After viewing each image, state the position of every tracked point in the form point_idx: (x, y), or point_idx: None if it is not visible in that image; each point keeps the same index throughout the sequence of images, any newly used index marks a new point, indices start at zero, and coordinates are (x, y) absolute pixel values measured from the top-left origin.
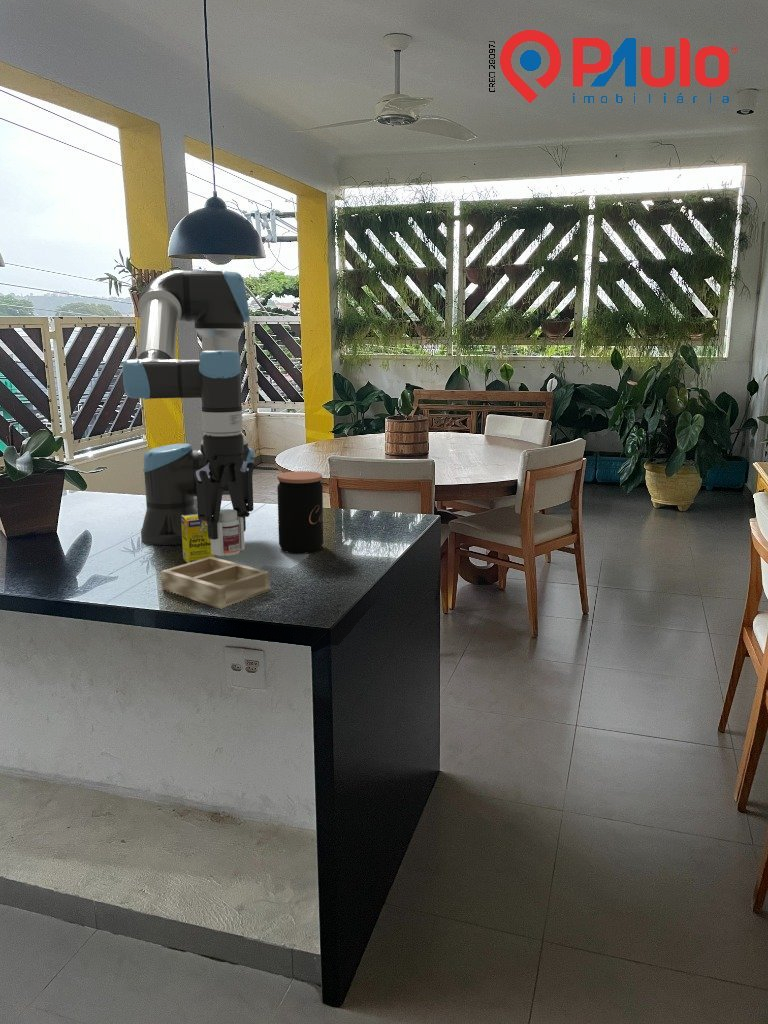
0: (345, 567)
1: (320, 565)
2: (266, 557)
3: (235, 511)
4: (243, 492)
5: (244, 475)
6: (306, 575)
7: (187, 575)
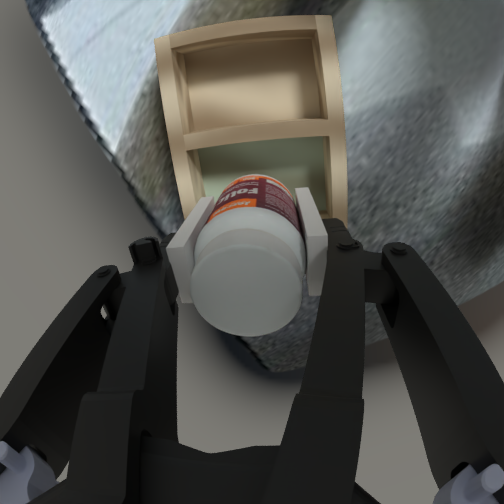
0: (500, 229)
1: (494, 185)
2: (474, 55)
3: (278, 325)
4: (412, 337)
5: (444, 455)
6: (445, 205)
7: (233, 42)
